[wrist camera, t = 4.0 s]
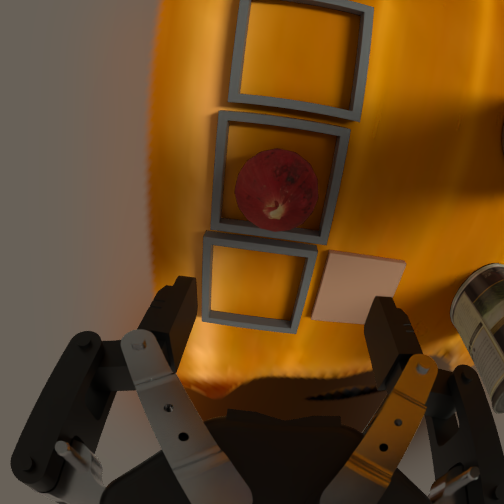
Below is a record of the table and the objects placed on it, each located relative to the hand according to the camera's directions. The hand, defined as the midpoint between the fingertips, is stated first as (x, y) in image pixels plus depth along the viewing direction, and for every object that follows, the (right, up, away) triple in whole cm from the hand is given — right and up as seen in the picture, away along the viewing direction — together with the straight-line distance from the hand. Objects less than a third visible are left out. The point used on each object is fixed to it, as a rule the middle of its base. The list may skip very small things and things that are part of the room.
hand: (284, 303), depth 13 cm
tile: (+9, -2, +16) cm, 18 cm away
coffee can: (+27, -3, +15) cm, 31 cm away
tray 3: (-1, -1, +16) cm, 16 cm away
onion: (+1, +8, +11) cm, 14 cm away
